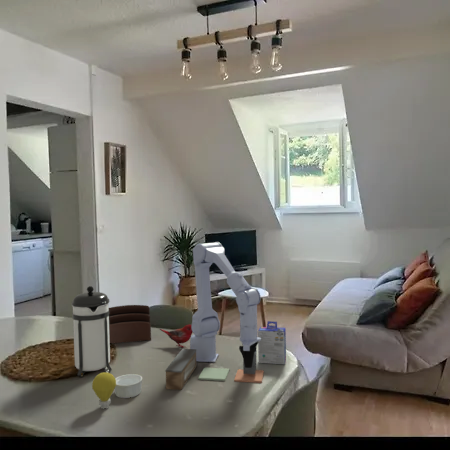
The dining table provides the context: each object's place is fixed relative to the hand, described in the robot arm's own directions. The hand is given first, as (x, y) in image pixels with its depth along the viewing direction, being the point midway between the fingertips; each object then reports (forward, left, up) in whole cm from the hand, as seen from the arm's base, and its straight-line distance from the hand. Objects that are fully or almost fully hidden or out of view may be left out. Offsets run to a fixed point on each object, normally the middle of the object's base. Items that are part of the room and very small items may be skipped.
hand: (249, 364), depth 144 cm
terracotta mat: (0, 0, -4) cm, 4 cm away
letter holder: (-57, +34, -4) cm, 67 cm away
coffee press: (-57, 0, -4) cm, 57 cm away
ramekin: (-36, -17, -4) cm, 40 cm away
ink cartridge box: (+7, +15, -4) cm, 17 cm away
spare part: (0, 0, -2) cm, 2 cm away
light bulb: (-39, -27, -4) cm, 48 cm away
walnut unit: (-22, -3, -4) cm, 23 cm away
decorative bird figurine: (-33, +27, -4) cm, 43 cm away
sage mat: (-12, 0, -4) cm, 13 cm away
